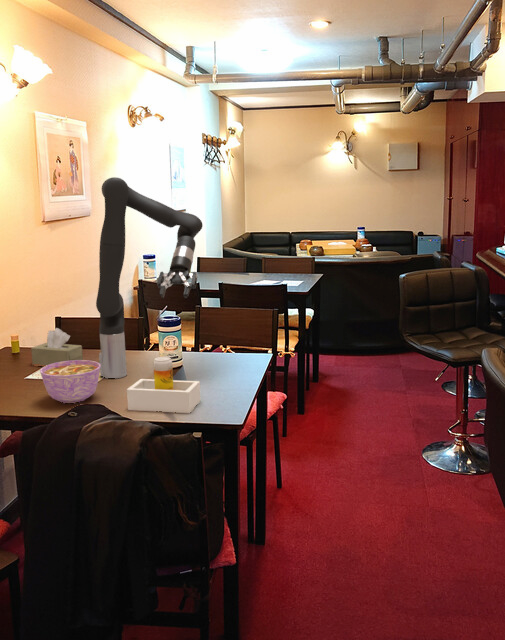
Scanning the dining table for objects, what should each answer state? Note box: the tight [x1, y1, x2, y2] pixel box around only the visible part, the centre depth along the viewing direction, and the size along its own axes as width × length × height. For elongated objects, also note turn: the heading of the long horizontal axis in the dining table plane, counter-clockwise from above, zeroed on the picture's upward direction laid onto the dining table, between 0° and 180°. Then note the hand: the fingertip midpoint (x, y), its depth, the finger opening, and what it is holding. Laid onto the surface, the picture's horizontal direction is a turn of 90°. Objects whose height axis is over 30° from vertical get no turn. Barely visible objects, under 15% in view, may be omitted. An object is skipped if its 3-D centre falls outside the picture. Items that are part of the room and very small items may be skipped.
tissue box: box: [30, 327, 84, 365], centre depth 264 cm, size 19×10×16 cm, turn 69°
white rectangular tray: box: [126, 378, 201, 414], centre depth 211 cm, size 21×12×7 cm, turn 78°
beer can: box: [153, 356, 174, 390], centre depth 210 cm, size 6×6×15 cm
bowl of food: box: [39, 359, 101, 404], centre depth 218 cm, size 20×20×12 cm
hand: (173, 296), depth 229 cm, fingers open, 8 cm apart
